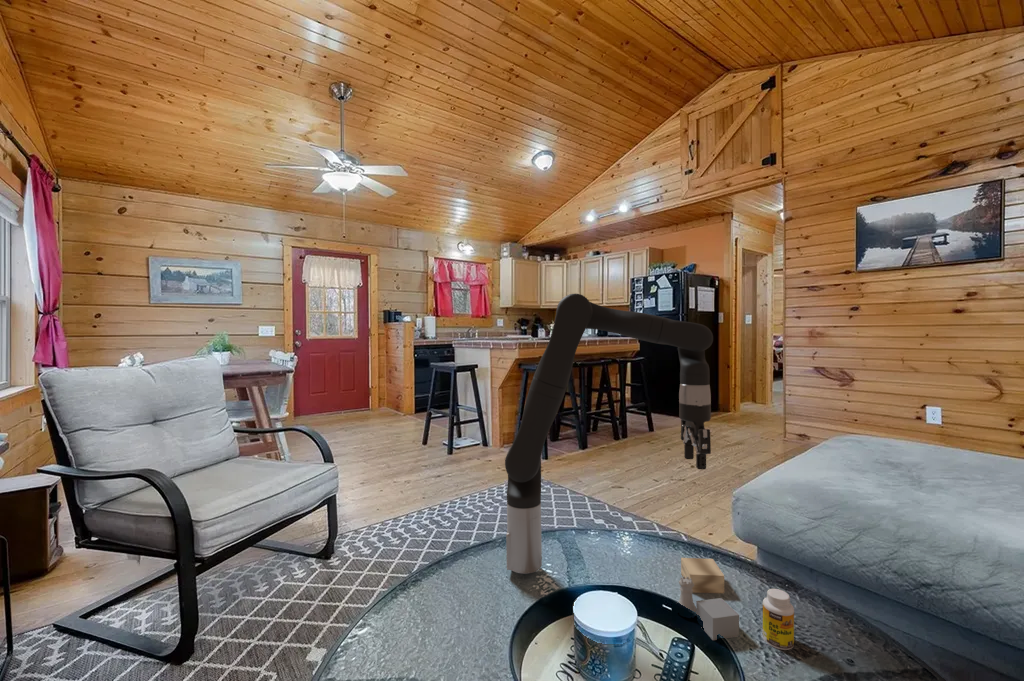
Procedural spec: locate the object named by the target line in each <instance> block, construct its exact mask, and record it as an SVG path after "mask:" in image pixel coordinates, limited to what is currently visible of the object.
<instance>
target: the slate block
mask: <svg viewBox="0 0 1024 681" xmlns="http://www.w3.org/2000/svg"><path fill="white" fill-rule="evenodd" d="M695 603H696V605H695V606H696V614H697V615H699V616H700V618H701V620H702V621H703V628H704V630H703V631H704V632H705V633H706V634H707V636H708V637H709V638H710V639H711V640H712V641H717V635H718V634H720V635H721V636H723V637H724V638H725V639H729V638H736V637H740V614H739V613H738V612H737V611H736V610H735V609H734V608H732V607H731V606H730V605H729V603H727V602H726V601H725V600H724V599H723V598H722V597H720V598H719V597H718V598H711V599H704V600H703V599H702V600H701V599H700V600H696V602H695Z"/></svg>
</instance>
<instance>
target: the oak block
mask: <svg viewBox="0 0 1024 681" xmlns="http://www.w3.org/2000/svg"><path fill="white" fill-rule="evenodd" d="M680 558H681V559H680V565H681V566H680V567H681V568H680V570H681V571H680V572H681V573H680V575H681V577H683V576H684V577H685V578H687V577H689V580H690V578H691V579H692V582H693V583H694V587H693V588H692V590H693V593H692V594H694V593H697V594H698V593H699V594H701V593H702V594H703V593H705V594H725V574H724V573H723V572H722V570H721V568H720V567H719V566H718V564H717V563H716V561H715V559H713V558H698V557H680Z"/></svg>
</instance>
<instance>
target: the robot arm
mask: <svg viewBox="0 0 1024 681" xmlns="http://www.w3.org/2000/svg"><path fill="white" fill-rule="evenodd" d="M555 313H556V314H555V317H554V321H553V322H554V323H553V327H552V331H551V335H550V338H549V341H548V344H547V346H546V348H545V350H544V352H543V354H542V355H541V358H540V360H539V362H538V364H537V367H536V369H535V372H534V374H533V377H532V380H531V383H530V384H529V389H528V393H527V396H526V400H525V404H524V406H523V407H524V408H523V414H522V418H521V421H520V425H519V428H518V431H517V433H516V436H515V438H514V440H513V442H512V445H511V447H510V448H509V449H508V451H507V454H506V455H505V461H504V467H505V471H506V473H507V486H506V487H507V488H506V489H507V490H506V519H507V520H506V523H507V524H506V528H507V531H506V534H505V537H506V539H505V540H506V541H505V542H506V549H505V550H506V551H505V552H506V570H507V571H508V570H509V571H513V572H514V573H517V574H522V575H523V574H525V575H526V574H533V573H535V572H537V571H539V570H540V569H541V568H542V566H543V562H542V561H543V556H542V554H543V551H542V550H543V549H542V546H543V545H542V543H543V542H542V454H543V450H544V447H545V446H544V445H545V442H546V439H547V436H548V433H549V431H550V429H551V427H552V425H553V423H554V421H555V419H556V417H557V414H558V412H559V409H560V407H561V405H562V402H563V400H564V397H565V393H566V391H567V387H568V385H569V381H570V378H571V374H572V370H573V366H574V360H575V356H576V353H577V349H578V348H579V344H580V342H581V340H582V338H583V335H584V333H585V331H586V329H587V330H588V329H589V330H599V331H604V332H609V333H614V334H617V335H621V336H623V337H624V336H625V337H628V338H631V339H635V340H639V341H644V342H649V343H653V344H657V345H658V344H659V345H668V346H672V347H676V348H677V352H678V359H679V364H680V365H679V366H680V368H679V370H680V372H679V381H680V382H679V383H680V384H679V389H678V390H679V392H678V399H679V400H678V402H679V403H678V404H679V405H678V406H679V407H678V409H679V412H678V413H679V414H678V417H679V419H680V440H681V441H682V443H683V445H684V447H683V448H684V451H683V452H684V459H686V460H693V459H694V456H695V457H696V458H695V461H696V462H695V467H696V469H697V470H706V469H707V455H711V452H712V450H711V449H712V448H711V443H712V441H711V430H710V429H709V428H707V429H706V428H705V422H710V421H711V418H712V416H711V413H712V407H711V406H712V403H711V401H712V400H711V397H712V396H711V395H712V394H711V386H710V378H711V377H710V373H711V372H710V366H709V363H708V362H707V360H706V350H707V349H709V348H710V347H711V346H712V344H713V342H714V335H713V332H712V330H711V329H710V328H709V327H708V326H706V325H704V324H701V323H696V322H691V321H683V320H674V319H671V318H668V317H665V316H664V317H663V316H660V315H656V314H650V313H644V312H638V311H630V310H623V309H616V308H610V307H606V306H602V305H599V304H597V303H594V302H591V301H589V299H588V297H586V296H584V295H583V294H580V293H570V294H567V295H566V296H564V297H563V298H561V299H560V301H559V302H558V303H557V307H556V311H555ZM694 448H695V451H694ZM694 452H696V454H695V455H694Z"/></svg>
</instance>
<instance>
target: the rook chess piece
mask: <svg viewBox="0 0 1024 681" xmlns="http://www.w3.org/2000/svg"><path fill="white" fill-rule="evenodd" d="M678 584H679V586H680V588H679V591H680V595H679V596H680V597H679V600H678V602H679V603H680V604H681V605H683V606H685V607H686V608H688V609H690V610H692V611H694V612H696V605H695V602H694V599H693V594H694V593H693V590H692V588H693V587H694V583H693V582H692V579H691V578H690V580H689V577H687V578H685V577H684V576H683V577H682V576H680V580H679V581H678ZM678 602H677V603H678Z"/></svg>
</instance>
